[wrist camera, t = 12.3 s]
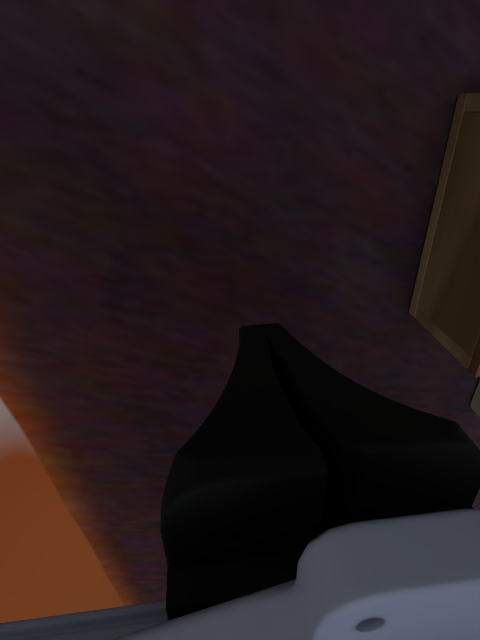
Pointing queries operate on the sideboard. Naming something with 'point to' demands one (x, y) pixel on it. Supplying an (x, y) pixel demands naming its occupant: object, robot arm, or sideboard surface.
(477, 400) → the switch block
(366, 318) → the sideboard surface
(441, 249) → the tea box
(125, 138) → the sideboard surface
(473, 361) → the tea box lid
